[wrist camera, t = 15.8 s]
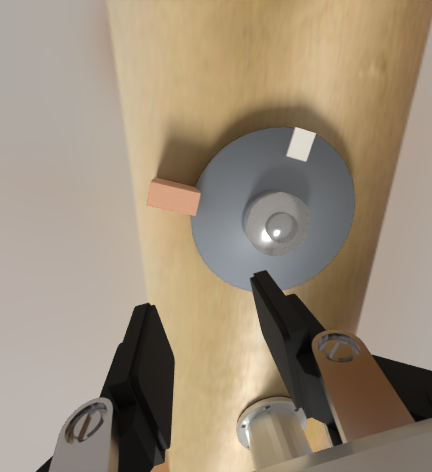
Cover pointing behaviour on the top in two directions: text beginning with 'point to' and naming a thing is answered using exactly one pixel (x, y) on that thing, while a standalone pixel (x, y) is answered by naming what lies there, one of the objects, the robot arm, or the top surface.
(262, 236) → the cover
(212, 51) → the top surface
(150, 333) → the robot arm
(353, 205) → the turntable
